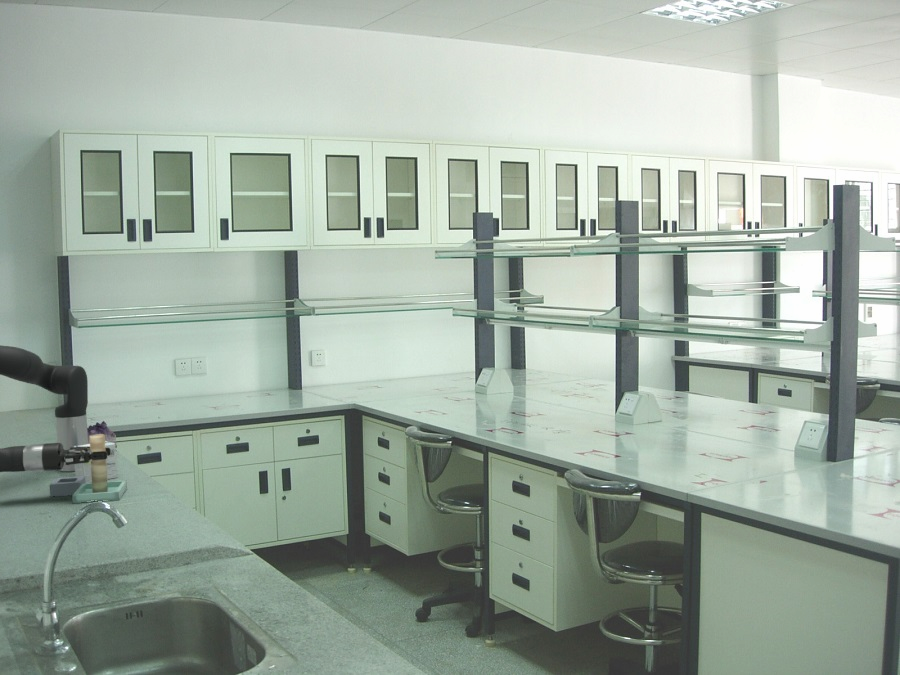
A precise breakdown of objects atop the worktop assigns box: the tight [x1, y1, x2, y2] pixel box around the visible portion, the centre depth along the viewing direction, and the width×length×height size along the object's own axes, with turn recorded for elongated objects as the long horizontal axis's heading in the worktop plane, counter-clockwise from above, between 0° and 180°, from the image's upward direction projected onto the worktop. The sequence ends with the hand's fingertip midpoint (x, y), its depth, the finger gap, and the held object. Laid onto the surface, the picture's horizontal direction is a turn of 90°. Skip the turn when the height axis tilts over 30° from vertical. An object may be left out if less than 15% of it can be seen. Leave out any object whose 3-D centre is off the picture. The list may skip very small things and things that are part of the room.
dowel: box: [89, 434, 108, 493], centre depth 253 cm, size 4×4×16 cm
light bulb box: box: [74, 441, 118, 483], centre depth 274 cm, size 11×7×11 cm, turn 134°
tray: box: [71, 479, 128, 504], centre depth 254 cm, size 14×12×2 cm
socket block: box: [49, 476, 86, 498], centre depth 259 cm, size 8×8×4 cm
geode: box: [87, 420, 118, 449], centre depth 323 cm, size 20×12×10 cm, turn 27°
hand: (108, 453), depth 254 cm, fingers open, 4 cm apart
